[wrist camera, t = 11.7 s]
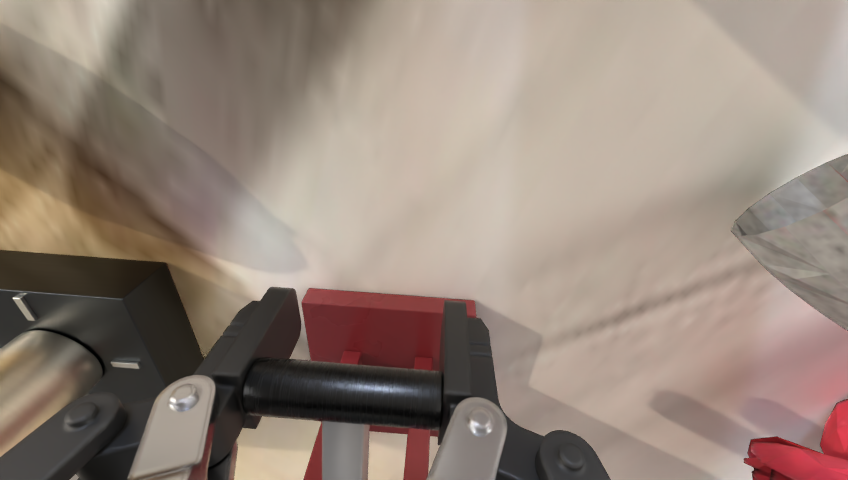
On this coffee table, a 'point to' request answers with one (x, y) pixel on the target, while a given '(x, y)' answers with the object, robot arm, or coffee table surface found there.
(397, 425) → the lever
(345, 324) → the bracket
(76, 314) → the dial panel
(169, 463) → the robot arm
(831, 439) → the bouquet
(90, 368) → the dial
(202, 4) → the coffee table surface
